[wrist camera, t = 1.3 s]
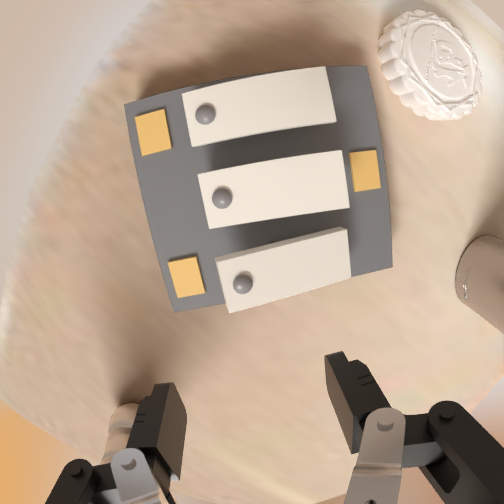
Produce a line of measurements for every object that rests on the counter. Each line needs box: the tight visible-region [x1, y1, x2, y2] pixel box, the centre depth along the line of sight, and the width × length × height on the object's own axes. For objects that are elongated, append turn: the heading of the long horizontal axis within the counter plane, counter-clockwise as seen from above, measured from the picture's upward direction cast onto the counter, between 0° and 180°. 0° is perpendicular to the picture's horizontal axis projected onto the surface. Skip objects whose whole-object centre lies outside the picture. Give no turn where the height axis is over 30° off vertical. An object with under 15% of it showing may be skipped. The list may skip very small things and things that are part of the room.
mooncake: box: [378, 9, 482, 120], centre depth 23 cm, size 12×12×4 cm
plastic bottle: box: [100, 403, 139, 465], centre depth 24 cm, size 6×7×20 cm
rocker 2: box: [215, 227, 351, 314], centre depth 23 cm, size 10×4×1 cm, turn 100°
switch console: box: [124, 66, 393, 312], centre depth 25 cm, size 20×18×4 cm
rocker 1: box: [182, 66, 336, 147], centre depth 20 cm, size 10×4×1 cm, turn 101°
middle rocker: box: [197, 150, 350, 229], centre depth 22 cm, size 10×4×1 cm, turn 101°
